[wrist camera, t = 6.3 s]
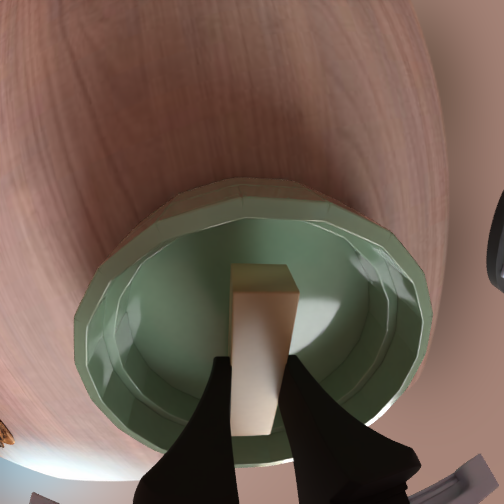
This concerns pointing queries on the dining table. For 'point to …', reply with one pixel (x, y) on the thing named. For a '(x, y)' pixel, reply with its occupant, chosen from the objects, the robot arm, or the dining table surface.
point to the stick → (259, 342)
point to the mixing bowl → (217, 308)
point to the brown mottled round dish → (5, 436)
